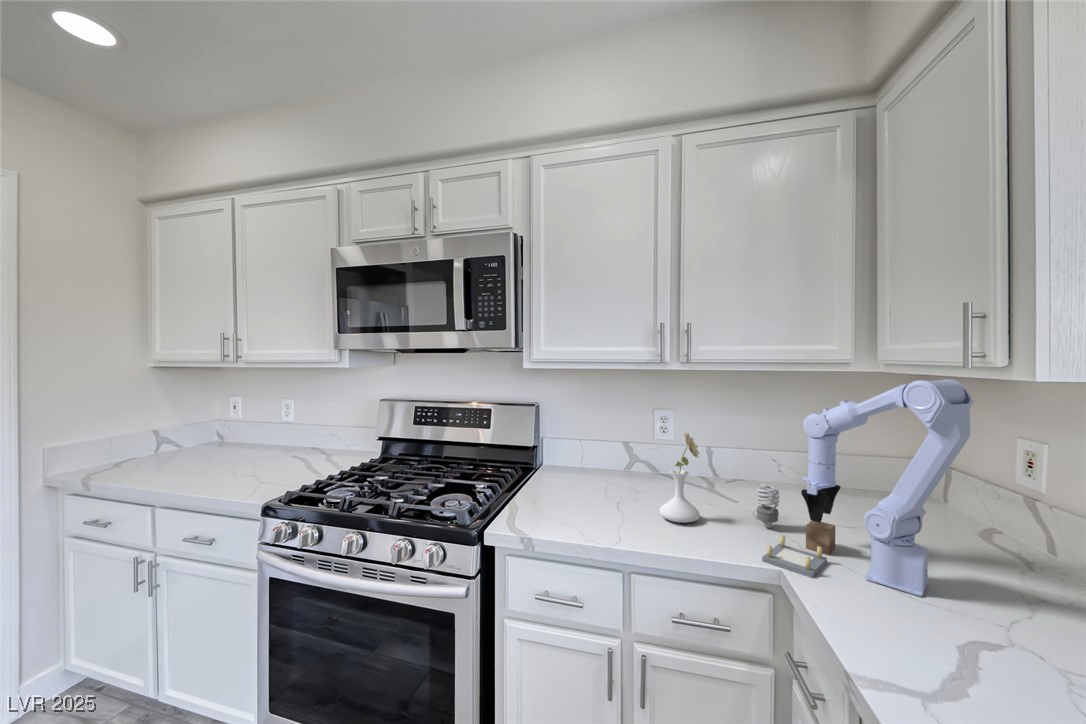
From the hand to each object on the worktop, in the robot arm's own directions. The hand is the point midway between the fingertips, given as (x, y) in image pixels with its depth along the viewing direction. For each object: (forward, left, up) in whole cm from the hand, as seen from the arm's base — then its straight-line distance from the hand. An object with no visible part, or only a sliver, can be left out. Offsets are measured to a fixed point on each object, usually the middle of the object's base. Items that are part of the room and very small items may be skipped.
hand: (820, 517), depth 110 cm
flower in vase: (+34, +7, -8) cm, 36 cm away
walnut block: (0, 0, -8) cm, 8 cm away
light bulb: (+14, -4, -8) cm, 17 cm away
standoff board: (+2, +12, -8) cm, 14 cm away
